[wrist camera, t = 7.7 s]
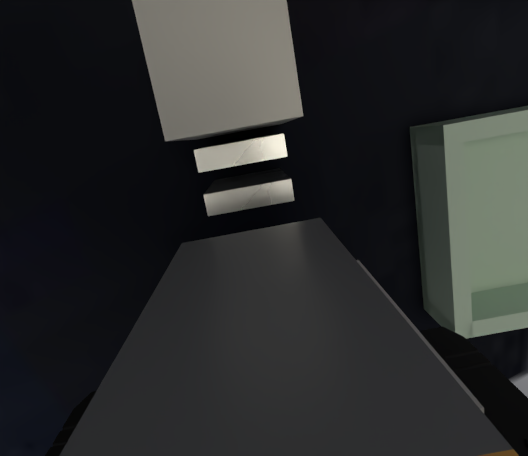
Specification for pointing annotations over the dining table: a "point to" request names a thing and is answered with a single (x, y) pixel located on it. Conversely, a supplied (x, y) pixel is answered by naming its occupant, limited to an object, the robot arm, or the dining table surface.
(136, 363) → the block
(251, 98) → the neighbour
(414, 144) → the tray
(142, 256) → the dining table surface
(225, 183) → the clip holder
